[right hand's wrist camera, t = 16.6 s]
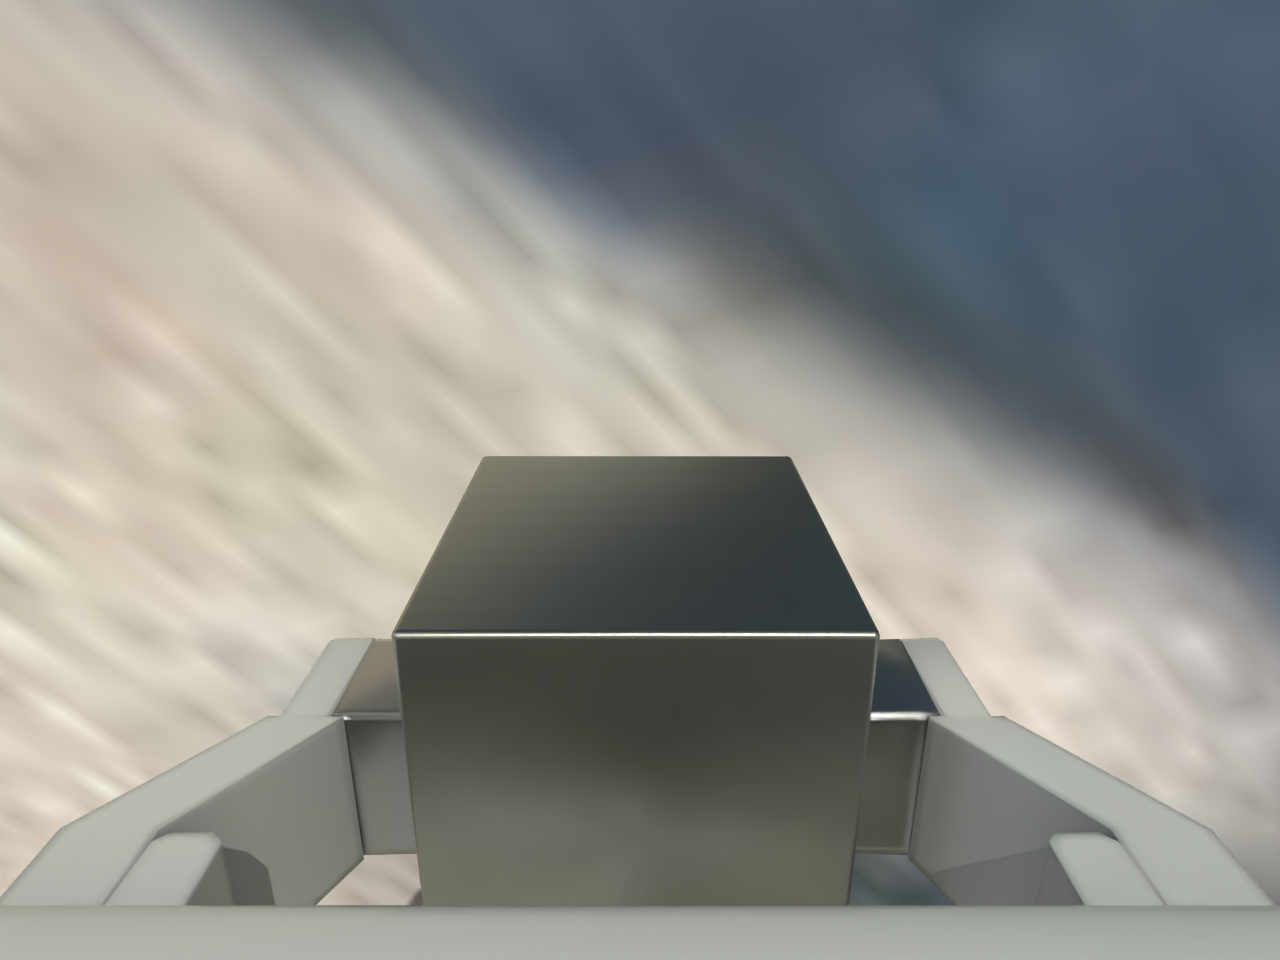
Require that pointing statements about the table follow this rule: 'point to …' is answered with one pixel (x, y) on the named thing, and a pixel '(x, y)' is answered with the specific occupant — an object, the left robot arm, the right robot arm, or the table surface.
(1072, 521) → the table surface
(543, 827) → the brick
